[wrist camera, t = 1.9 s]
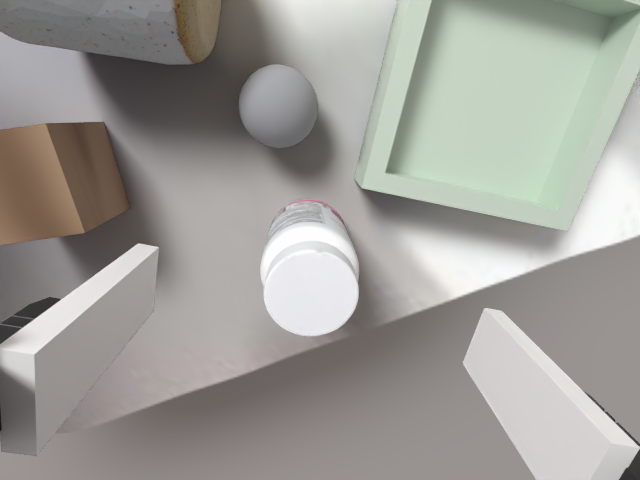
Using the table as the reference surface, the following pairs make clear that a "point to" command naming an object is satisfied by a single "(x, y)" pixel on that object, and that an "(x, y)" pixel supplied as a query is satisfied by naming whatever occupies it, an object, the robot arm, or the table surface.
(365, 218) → the table surface
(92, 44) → the ceramic mug
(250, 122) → the rubber ball
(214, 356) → the table surface
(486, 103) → the tray
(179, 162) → the table surface
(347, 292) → the pill bottle
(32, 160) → the walnut block
